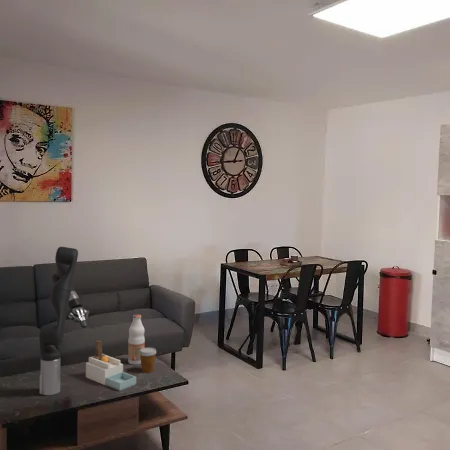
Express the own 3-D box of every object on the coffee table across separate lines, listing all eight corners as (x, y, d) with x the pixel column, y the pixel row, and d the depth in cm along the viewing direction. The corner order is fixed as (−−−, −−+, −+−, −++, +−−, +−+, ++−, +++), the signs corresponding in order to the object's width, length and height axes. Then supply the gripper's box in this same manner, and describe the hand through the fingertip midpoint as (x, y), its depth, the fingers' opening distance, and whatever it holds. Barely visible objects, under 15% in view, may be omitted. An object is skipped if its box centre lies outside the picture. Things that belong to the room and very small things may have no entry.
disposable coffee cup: (157, 368, 282) (158, 347, 281) (153, 374, 273) (154, 353, 272) (141, 367, 283) (141, 346, 282) (136, 373, 274) (137, 352, 273)
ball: (100, 364, 263) (100, 357, 263) (101, 362, 267) (101, 354, 267) (107, 364, 263) (107, 357, 263) (108, 362, 267) (108, 354, 267)
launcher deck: (104, 385, 256) (105, 365, 255) (85, 377, 266) (85, 358, 265) (122, 378, 266) (123, 359, 265) (103, 371, 275) (104, 352, 275)
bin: (119, 390, 250) (119, 383, 249) (105, 385, 256) (105, 377, 256) (136, 384, 258) (136, 377, 258) (122, 378, 265) (122, 371, 265)
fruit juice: (125, 363, 288) (125, 316, 286) (133, 358, 297) (134, 312, 295) (139, 365, 285) (140, 318, 283) (147, 360, 294) (148, 314, 291)
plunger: (97, 363, 264) (97, 343, 264) (92, 361, 267) (92, 341, 266) (105, 360, 269) (105, 341, 268) (100, 359, 271) (101, 339, 270)
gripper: (64, 299, 274) (77, 326, 268) (85, 295, 284) (98, 321, 278) (59, 307, 278) (71, 333, 272) (80, 302, 288) (92, 328, 282)
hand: (85, 327), depth 275 cm, fingers closed
